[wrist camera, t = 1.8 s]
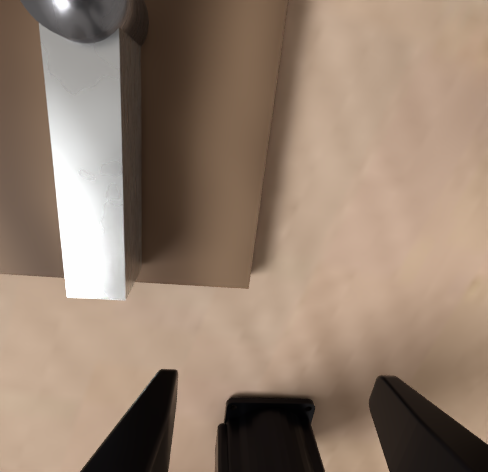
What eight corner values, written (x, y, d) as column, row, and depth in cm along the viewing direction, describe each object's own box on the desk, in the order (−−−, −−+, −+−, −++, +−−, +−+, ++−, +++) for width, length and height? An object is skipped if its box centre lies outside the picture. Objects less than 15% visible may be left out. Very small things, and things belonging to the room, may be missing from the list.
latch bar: (65, -39, 11) (-1, -107, 8) (148, -24, 12) (120, -83, 8) (87, 265, 16) (50, 306, 12) (147, 268, 16) (128, 310, 13)
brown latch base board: (298, -118, 12) (342, -246, 8) (246, 275, 19) (254, 324, 14) (-364, -262, 10) (-829, -565, 5) (-166, 249, 16) (-309, 298, 12)
